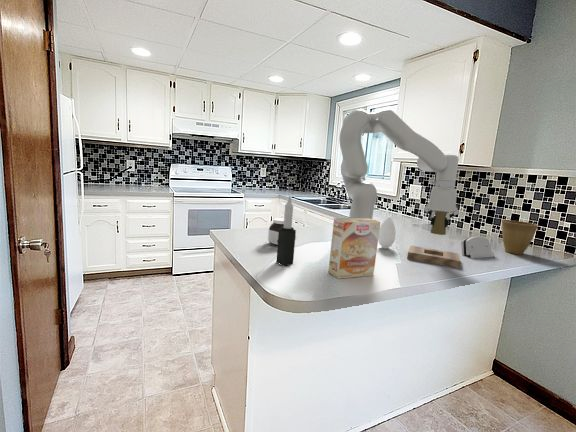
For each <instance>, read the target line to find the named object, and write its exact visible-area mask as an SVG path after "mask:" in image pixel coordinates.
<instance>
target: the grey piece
mask: <svg viewBox="0 0 576 432" xmlns="http://www.w3.org/2000/svg"><path fill="white" fill-rule="evenodd" d="M461 255H462V256H470V258H471V259H478V258H491V257H493V258H494V257H495V252H493V250H492V247H491V244H490V240H489V239H488V238H487V237H483V236H470V237H467V238H465V239H463V240H462V241H461Z"/></svg>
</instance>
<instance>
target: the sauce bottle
mask: <svg viewBox="0 0 576 432" xmlns="http://www.w3.org/2000/svg"><path fill="white" fill-rule="evenodd" d="M395 226H396V225H395V222H394V220H393V217H392V216H391V211H389V213H388V216H386V217H385V219H384V220H383V221H382V222H381V223H380V230H379V237H378V244H379V246H380V247H381V248H382V249H386V250H387V249H389V248H391V247H392V246H393V245H394V243H395V240H396V231H397V230H396V227H395Z"/></svg>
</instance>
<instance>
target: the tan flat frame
mask: <svg viewBox="0 0 576 432" xmlns="http://www.w3.org/2000/svg"><path fill="white" fill-rule="evenodd" d="M459 254H460V253H459V252H453V251H446V250H440V249H436V248H435V249H434V248H429V247H423V246H417V245H410V246H409V249H408V251H407V256H406V258H407V260H412V261H417V262H418V261H419V262H424V263H428V264H433V265H440V266H444V267H451V268H456V269H460V268H461V267H460V266H461V258H460V255H459Z"/></svg>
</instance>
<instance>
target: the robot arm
mask: <svg viewBox="0 0 576 432" xmlns="http://www.w3.org/2000/svg"><path fill="white" fill-rule="evenodd" d="M377 133H382V134H384V136H385V137H386V138H388V139H389V141H391V142H392V143H393V144H394V145H395V146H396V147H397V148H398V149H400V150H401V151H402V150H403V151H405V152H408V153H411V154H413V155H415V156H416V157H417V161H416V166H417V168H418V170H421V172H427V173H430V172H431V173H435V175H436V176H435V180H431V185H434V186H433V187H432V188H431V191H430V194H429V195H430V196H429V201H428V203H427V204H426V205H425V206H424V208H423V211H424V212H425V213H427V214H428V215H429V217H430V218H431V219H430V225H431V228H432V227H433V226H434V222H435V211H441V212H447V214H446V219H445V227H444V228H445V229H446V230H447V228H448V226H449V220H450V219H452V218H453V217H455V216H456V215H458V214H460V211H459V209H458V207H457V194H458V193H457V188H455V187H456V180H457V173H458V166H459V157H458V155H455V154H445V153H444V152H443V151H442V150H441V149H440V148H439V147H438V146H437V145H435V144H434V143H433V142H432V141H430V140H429V139H427V138H426V137H424V136H422V135H421V134H419V133H417V132H416V131H415V130H413V129H412V128H411V127H410V126H409V125H408V124H407V123H406V122H405V121H404V120H403V119H402V118H401V117H399V115H397V114H396V113H395V112H394V111H393V110H392V109H390V108H383V109H381V110H379V111H376V112H368V111H366V110H365V109H362V108H360V109H359V108H358V109H355V110H354V109H353V110H352V111H351V112H349V113H348V114H347V115H345V117H344V119H343V121H342V127H341V129H340V132H339V147H340V151H341V155H342V162H341V164H340V173H341V177H342V179H343V184H344V186H345V190H346V191H345V192H346V193H347V195H348V198H350V199H351V200H352V201H351V205H350V208H349V215H348V217H349V218H369V219H373V216H374V211H375V205H376V202H377V197H378V192H377V191H378V190H377V188H376V186H375V185H374V184H373V183H372V182H370V181H368V180H366V177H365V176H366V175H367V174H368V171H369V170H368V169H369V166H368V161H367V159H366V156H365V155H366V154H365V153H364V148H363V144H362V136H363V134H377Z"/></svg>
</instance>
